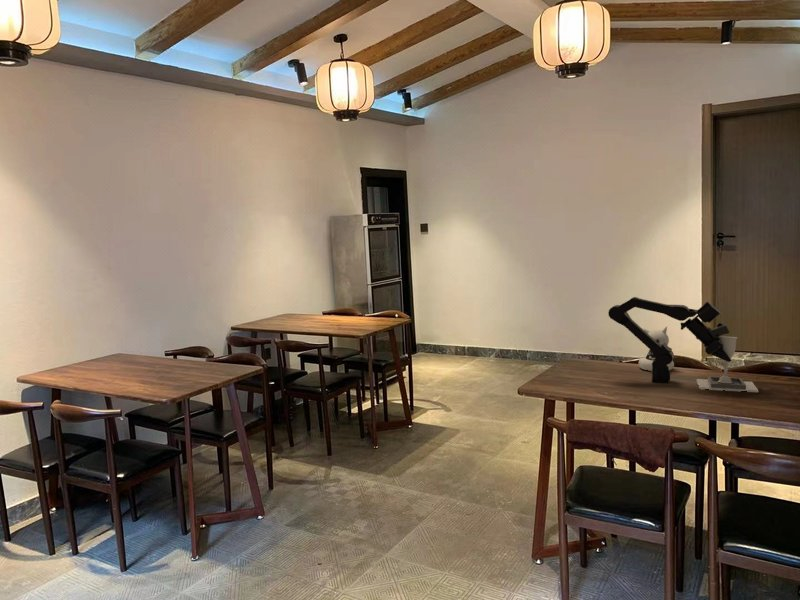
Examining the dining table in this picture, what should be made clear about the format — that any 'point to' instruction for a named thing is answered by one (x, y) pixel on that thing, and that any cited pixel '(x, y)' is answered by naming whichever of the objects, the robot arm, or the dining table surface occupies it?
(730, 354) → the chalice
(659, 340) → the decorative figurine
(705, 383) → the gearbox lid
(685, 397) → the dining table surface
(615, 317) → the robot arm
